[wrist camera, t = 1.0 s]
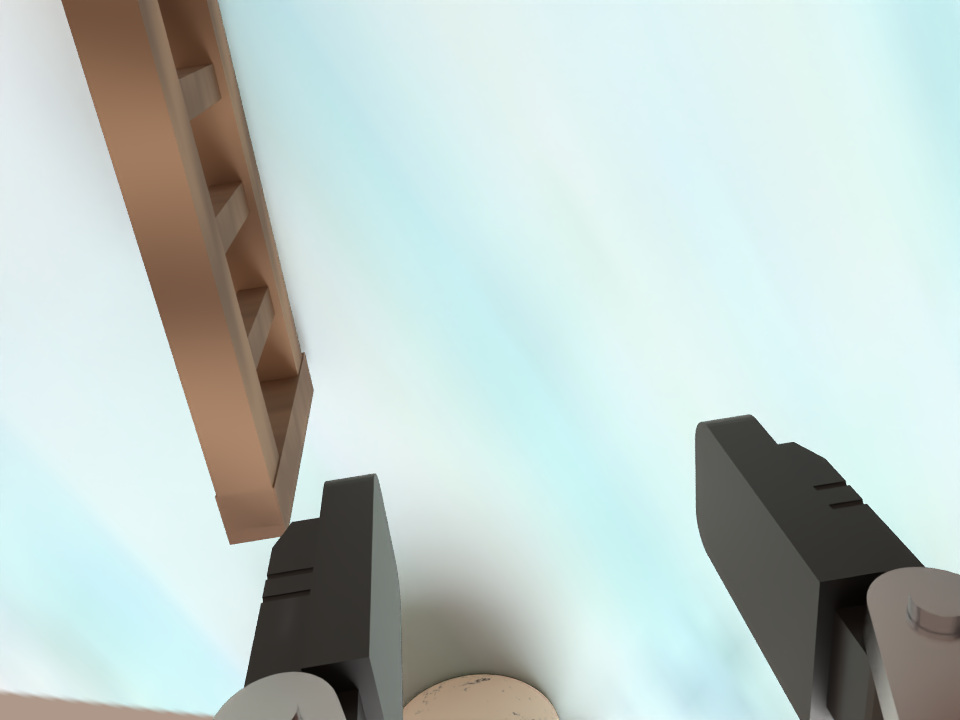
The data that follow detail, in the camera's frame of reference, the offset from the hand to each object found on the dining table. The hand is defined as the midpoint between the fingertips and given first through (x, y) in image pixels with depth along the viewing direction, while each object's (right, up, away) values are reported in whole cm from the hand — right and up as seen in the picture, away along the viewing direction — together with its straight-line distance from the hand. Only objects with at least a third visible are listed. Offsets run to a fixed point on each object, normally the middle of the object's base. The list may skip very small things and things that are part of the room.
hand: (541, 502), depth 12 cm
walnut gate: (-9, +8, +16) cm, 20 cm away
